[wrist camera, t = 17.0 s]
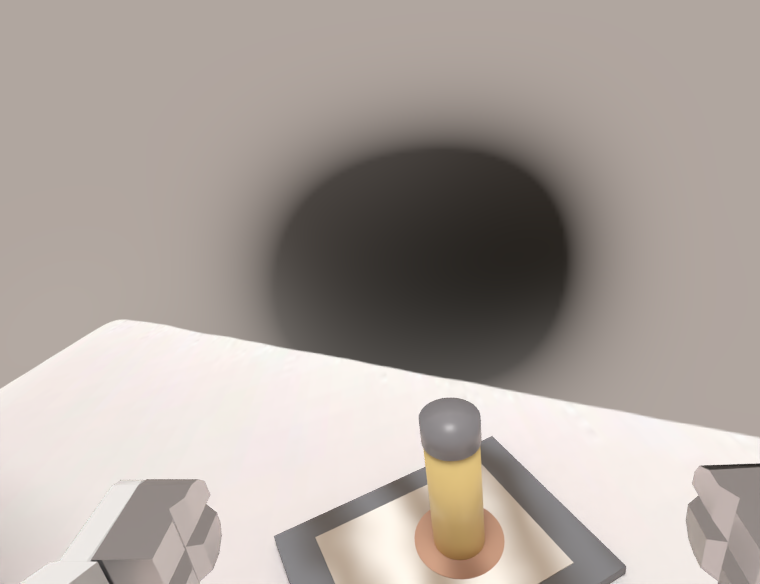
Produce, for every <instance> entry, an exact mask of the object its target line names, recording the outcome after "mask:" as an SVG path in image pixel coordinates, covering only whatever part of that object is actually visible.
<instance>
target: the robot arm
mask: <svg viewBox="0 0 760 584" xmlns="http://www.w3.org/2000/svg"><path fill="white" fill-rule="evenodd" d="M692 485H693V486H694V488H695V490H696V492H697V493H698V495H699V496H697V497H696V498H695V499H694V500H693V501H692V502H690V503H689V504H688V509H687V516H686V524H687V532H688V538H689V541H690V544H691V547H692V550H693V553H694V555H695V557H696V559H697V561H698V563H699V565H700V567H701V568H702V569H703V570H704V571H705V572H707V573H708V574H709V575H711V576H712V577H713V578H715V579H716V580H717V581H718V584H760V463H759V464H731V465H704V466H699V467H698V468H697V469H696V471H695V472H694V477H693V482H692ZM209 497H210V493H209V490H208V488H207V485H206V483H205V481H202V480H198V479H147V480H120V481H118V482H117V483H115V484H114V485H112V486H111V487H110V489H109V490H108V492H107V493H106V495H105V496H104V497H103V499H102V500H101V502H100V503H99V505H98V506H97V507H96V509H95V510H94V512H93V513H92V515H91V516H90V517H89V519H88V520H87V522H86V523H85V525H84V526H83V527H82V529H81V530H80V532H79V533H78V535H77V536H76V537H75V539H74V540H73V542H72V543H71V545H70V546H69V547H68V549H67V550H66V552H65V553H64V555H63V556H62V557H61V559H60V560H59V562H49V563H48V564H46V565H45V566H44V567H42V568H41V569H39V570H38V571H36V572H35V573H34V574H32V575H31V576H29V577H28V578H27V579H25V580H24V581H22V582H21V583H19V584H200V581H201V580H202V579H203V578H204V577H205V576H206V575H208V574H209V573H210V572H211V571H212V570H213V568H214V566H215V563H216V560H217V558H218V555H219V551H220V544H221V537H222V534H221V524H220V520H219V517H218V514H217V512H215V511H214V510H213V509H212V508H210V507H209V506H208V505H206V503H207V501H208V499H209Z"/></svg>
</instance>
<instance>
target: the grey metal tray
mask: <svg viewBox="0 0 760 584" xmlns="http://www.w3.org/2000/svg"><path fill="white" fill-rule="evenodd" d="M480 449H481V469H482V490H483V510H484V530H485V543H484V546H483V548H482V550H481V551H480V552H479V553H478V554H477V555H476V556H474V557H472V558H470V559H467V560H454V559H450V558H448V557H446V556H444V555H443V554H441V553H440V552H439V550H438V549H437V548H436V546H435V543H434V538H433V529H432V520H431V511H430V502H429V493H428V484H427V475H426V467H424V468H422V469H420V470H417V471H415V472H413V473H411V474H409V475H407V476H404V477H402V478H400V479H398V480H396V481H393V482H391V483H389V484H387V485H385V486H383V487H380V488H378V489H376V490H374V491H372V492H369V493H367V494H365V495H363V496H361V497H358V498H356V499H354V500H352V501H350V502H348V503H345V504H343V505H341V506H339V507H337V508H334V509H332V510H330V511H328V512H326V513H324V514H321V515H319V516H317V517H315V518H313V519H310V520H308V521H306V522H304V523H302V524H300V525H297V526H295V527H293V528H291V529H289V530H286V531H284V532H282V533H280V534H278V535H276V536H274V538H275V541H276V544H277V547H278V550H279V553H280V556H281V559H282V562H283V565H284V568H285V571H286V573H287V576H288V579H289V582H290V584H609V583H611V582H612V581H614V580H615V579H617V578H619V577H620V576H622V575H623V574H625V571H626V566H625V565H624V564H623V563H622V562H621V561H620V560H619V559H618V558H617V557H616V556H615V555H614V554H613V553H612V552H611V551H610V550H609V549H608V548H607V547H606V546H605V545H604V544H603V543H602V542H601V541H600V540H599V539H598V538H597V537H596V536H595V535H594V534H592V533H591V532H590V531H589V530H588V529H587V528H586V527H585V526H584V525H583V524H582V523H581V522H580V521H579V520H578V519H577V518H576V517H575V516H574V515H573V514H572V513H571V512H570V511H569V510H568V509H567V508H566V507H565V506H564V505H563V504H562V503H561V502H559V501H558V500H557V499H556V498H555V497H554V496H553V495H552V494H551V493H550V492H549V491H548V490H547V489H546V488H545V487H544V486H543V485H542V484H541V483H540V482H539V481H538V480H537V479H536V478H535V477H534V476H533V475H532V474H531V473H530V472H529V471H528V470H526V469H525V468H524V467H523V466H522V465H521V464H520V463H519V462H518V461H517V460H516V459H515V458H514V457H513V456H512V455H511V454H510V453H509V452H508V451H507V450H506V449H505V448H504V447H503V446H502V445H501V444H500V443H499V442H498V441H497V440H496V439H495V438H493V437H489V438H487V439H485V440H483V441H481V445H480Z"/></svg>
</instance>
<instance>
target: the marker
mask: <svg viewBox="0 0 760 584" xmlns="http://www.w3.org/2000/svg"><path fill="white" fill-rule="evenodd" d="M419 426H420V434H421V443H422V446H423V448H424V457H425V466H426V475H427V484H428V493H429V502H430V511H431V520H432V529H433V538H434V543H435V546H436V548H437V549H438V550H439V552H440V553H441V554H443V555H444V556H446V557H448V558H450V559H454V560H467V559H470V558H472V557H474V556H476V555H477V554H478V553H479V552H480V551H481V550H482V548H483V546H484V543H485V530H484V510H483V490H482V469H481V449H480V445H481V420H480V413H479V410H478V409H477V408H476V407H475V406H474V405H473V404H472V403H470V402H468V401H466V400H463V399H459V398H442V399H438V400H435V401H432V402H430V403H429V404H427V405H426V406H425V407H424V408H423V409H422V410H421V412H420V414H419Z"/></svg>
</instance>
